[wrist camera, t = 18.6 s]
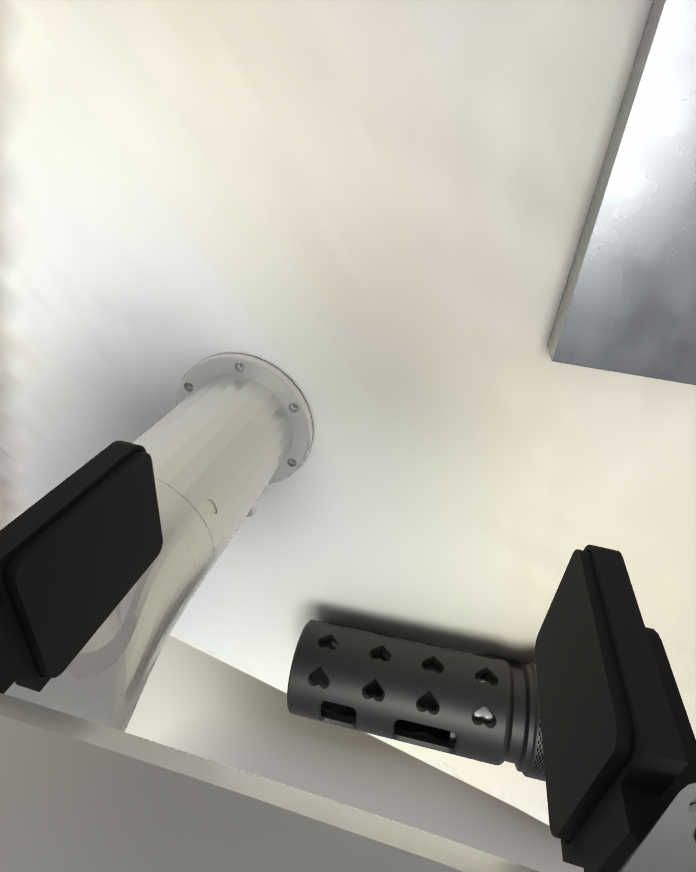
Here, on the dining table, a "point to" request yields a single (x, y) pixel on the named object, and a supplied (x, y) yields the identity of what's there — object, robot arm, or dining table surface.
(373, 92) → the dining table surface
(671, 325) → the board
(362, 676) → the muzzle brake
